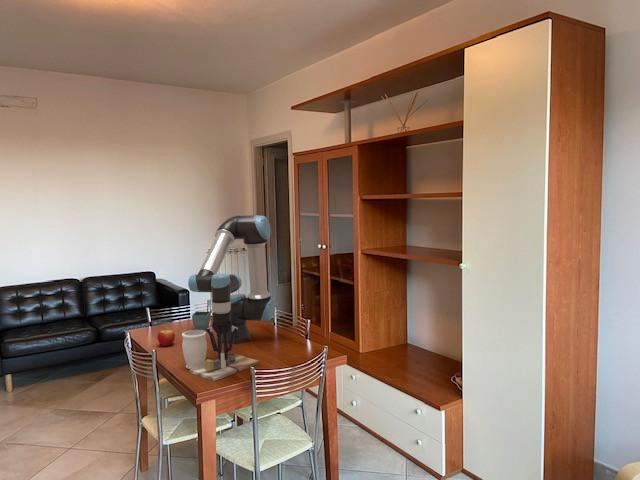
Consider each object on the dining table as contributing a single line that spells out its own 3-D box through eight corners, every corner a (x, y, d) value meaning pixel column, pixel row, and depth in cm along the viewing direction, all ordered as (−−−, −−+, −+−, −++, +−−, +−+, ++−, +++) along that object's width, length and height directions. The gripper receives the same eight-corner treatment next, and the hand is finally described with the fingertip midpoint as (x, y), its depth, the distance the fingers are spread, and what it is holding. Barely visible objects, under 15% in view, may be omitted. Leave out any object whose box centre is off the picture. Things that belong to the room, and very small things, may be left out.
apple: (154, 345, 241) (153, 326, 240) (169, 341, 247) (169, 322, 246) (162, 349, 235) (162, 329, 234) (178, 345, 241) (177, 325, 240)
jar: (185, 362, 215) (184, 329, 214) (209, 361, 216) (208, 329, 215) (180, 371, 204) (179, 336, 203) (205, 370, 205) (204, 335, 204)
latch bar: (231, 358, 213) (230, 350, 212) (237, 360, 210) (237, 352, 210) (203, 368, 200) (203, 360, 200) (209, 370, 198) (209, 362, 198)
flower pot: (207, 331, 266) (207, 315, 265) (192, 331, 266) (191, 315, 265) (211, 326, 275) (211, 311, 274) (196, 326, 275) (195, 311, 274)
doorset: (189, 372, 203) (189, 358, 202) (234, 356, 222) (234, 343, 222) (214, 381, 193) (214, 366, 192) (259, 363, 213) (259, 350, 212)
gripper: (238, 309, 202) (240, 363, 204) (207, 309, 202) (209, 364, 204) (236, 313, 195) (237, 370, 197) (203, 314, 194) (205, 370, 196)
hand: (223, 367), depth 200 cm, fingers closed
